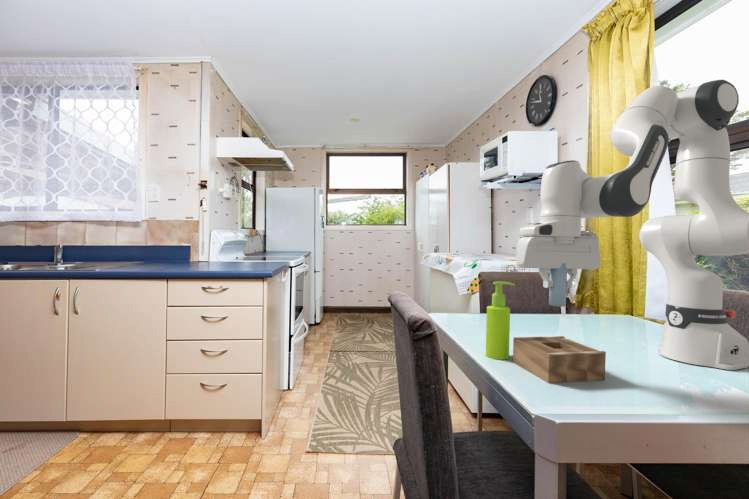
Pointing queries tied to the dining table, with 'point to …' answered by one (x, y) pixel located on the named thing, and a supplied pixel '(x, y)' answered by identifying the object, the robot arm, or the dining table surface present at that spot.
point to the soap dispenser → (498, 325)
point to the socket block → (558, 359)
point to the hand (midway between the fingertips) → (557, 287)
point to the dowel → (558, 286)
